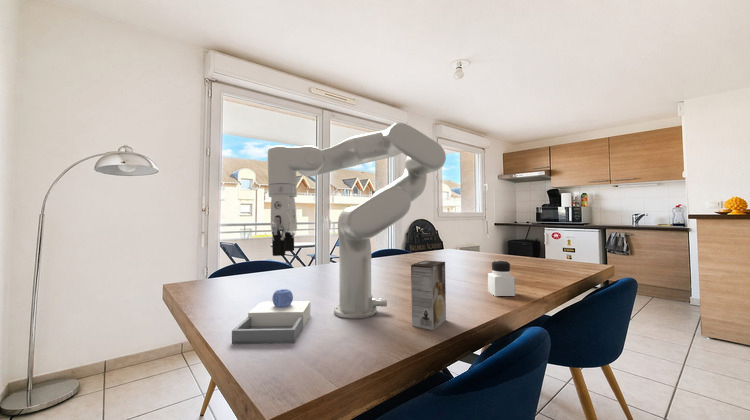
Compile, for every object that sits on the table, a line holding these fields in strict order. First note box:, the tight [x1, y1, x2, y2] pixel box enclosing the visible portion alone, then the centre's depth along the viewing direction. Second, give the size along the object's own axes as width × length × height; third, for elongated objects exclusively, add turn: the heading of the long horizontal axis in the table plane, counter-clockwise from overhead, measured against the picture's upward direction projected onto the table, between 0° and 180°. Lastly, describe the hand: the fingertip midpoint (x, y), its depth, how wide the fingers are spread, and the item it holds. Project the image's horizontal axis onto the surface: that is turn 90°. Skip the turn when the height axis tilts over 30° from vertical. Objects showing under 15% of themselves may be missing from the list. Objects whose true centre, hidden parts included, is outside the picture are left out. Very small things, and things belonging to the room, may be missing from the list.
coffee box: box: [410, 259, 447, 331], centre depth 81 cm, size 9×6×16 cm
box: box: [231, 316, 304, 345], centre depth 73 cm, size 14×9×3 cm, turn 92°
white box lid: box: [247, 300, 311, 328], centre depth 83 cm, size 14×10×4 cm
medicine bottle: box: [487, 260, 516, 297], centre depth 110 cm, size 7×7×12 cm
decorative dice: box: [271, 288, 294, 308], centre depth 84 cm, size 4×4×4 cm
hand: (284, 253), depth 85 cm, fingers open, 9 cm apart
